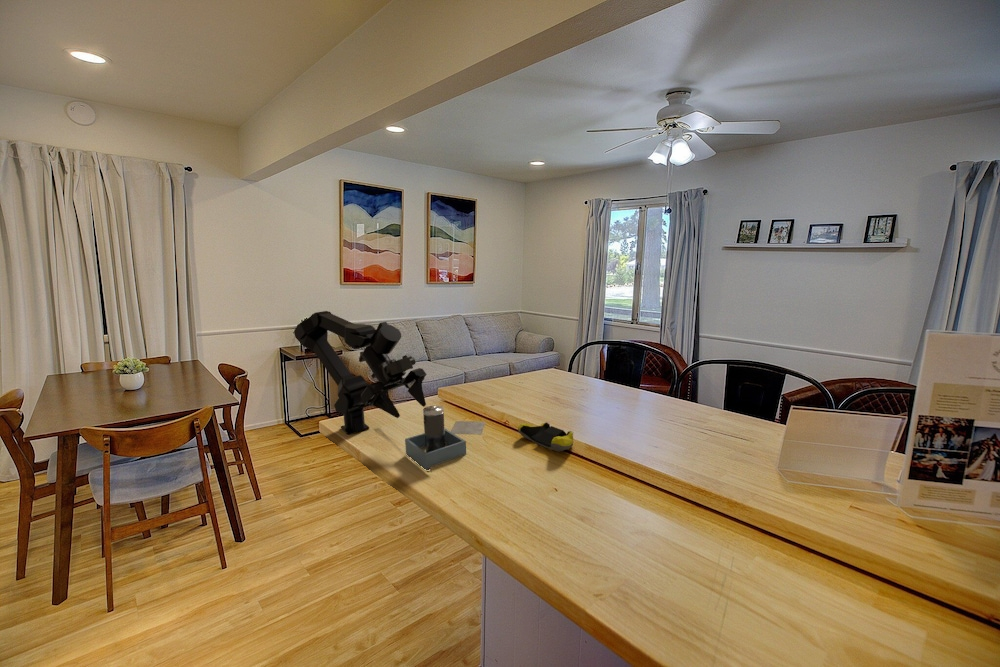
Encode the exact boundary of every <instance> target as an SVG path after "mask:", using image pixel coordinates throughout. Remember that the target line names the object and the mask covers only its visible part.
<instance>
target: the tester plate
mask: <svg viewBox="0 0 1000 667" xmlns="http://www.w3.org/2000/svg"><path fill="white" fill-rule="evenodd" d="M486 422H487V421H477V420H476V421H474V420H473V421H472V420H471V421H469V420H456V421H455V422H454V424H453V426H452V428H451V430H450V432H452V433H453V434H455V435H483V431H484V428H485V425H486Z"/></svg>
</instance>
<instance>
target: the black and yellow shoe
mask: <svg viewBox="0 0 1000 667" xmlns="http://www.w3.org/2000/svg"><path fill="white" fill-rule="evenodd" d="M550 424H551V423H550V422H543V423H542V424H540V425H533V424H528V423H519V425H518V427H517V431H518V433H519V434H520V435H521V436H522V437H523V438H525V439H527V440H529V441H530V442H532V443H534V444H536V445H537V446H538V447H539V446H540V447H544V448H546V449H548V450H550V451H551V450H553V451H555V452H558V453H560V452H563V451H567V450H569V449H571V448H572V447H573V446H574V430H569V431H567V433H566V432H565V431H564V429H560V428H558V427H556V426H552V425H550Z"/></svg>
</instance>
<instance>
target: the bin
mask: <svg viewBox="0 0 1000 667" xmlns="http://www.w3.org/2000/svg"><path fill="white" fill-rule="evenodd" d="M444 430H445V444H448V445H447V446H446V445H445V447H443V448H440V449H437V450H434V451H431V452H428V453H426V450H423V449H422V448H424V447H425V432H424V433H421V434H416V435H413V436H410V437H407V438H405V440H404V445H405V455H406V454H407V455H408V456H409V457H411V458H412V459H413V460H414V461H416V462H417V463H418V464H419V465H420V466H422V467H423V468H424V469H426V470H429V469H431V468H430V467H434V466H436V465H439V464H442V463H445V462H448V461H450V460H453V459H456V458H459V457H462V456H464V455H467V441H466V440H465V439H464V438H462V437H460V436H458V434H453V433H452V432H451V430H449V429H446V428H445V427H444ZM407 455H406V456H407ZM408 456H407V457H408ZM409 457H408V458H409ZM412 459H411V460H412ZM413 460H412V461H413ZM414 461H413V462H414ZM417 463H416V464H417ZM418 464H417V465H418ZM419 465H418V466H419ZM420 466H419V467H420ZM423 468H422V469H423ZM424 469H423V470H424Z"/></svg>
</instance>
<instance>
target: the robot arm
mask: <svg viewBox="0 0 1000 667" xmlns="http://www.w3.org/2000/svg"><path fill="white" fill-rule="evenodd" d="M328 331H329V332H331V333H333V334H335V335H337V336H339V337H341V338H342V339H343V340H344V343H345V344H346V345H347V346H349V347H350V348H351V349H352V350H358V349H362V348H364V350H363V351H360V352H359V357H358V362H359V363H362V362H365V363H366V364H367V366H368V368H369V369H370V371H371V372H372V374H371V375H370V376H371V378H372V379H376V380H377V381H376V382H373V383H370V384H369V383H368V382H367V381H366V380H365V378H364V377H363V375H361V374H360V375H357V376H356V375H353V374H352V373H351V371H350V370H349V368H348V367H347V366H346V364H345V363H344V362H343V361H342V359H341V357H339V354H338V353H337V352H336V350H334V348H333V347H332V345H331V344H330V342H329V341H328V336H329V335H328V334H329V333H328ZM293 334H294V337H295V338H296V340H297V341H298V342H299V343H300V345H302V346H303V347H304V348H307V349H309V350H311V351H313V352H314V354H315V355H316V357H317V359H318V360H319V361H320V362H321V364H322V365H323V367H324V368H325V370H326V371H327V373H328V374H329V375H330V377H331V378H332V380H333V381H334V383H335V385H336V386H337V397H338V398H337V400H336V401H335V403H334V408H335V409H334V410H335V412H336V413H339V414H342V415H343V423H344V424H343V425H341V426H340V429H341V428H342V429H343V430H344V431H345V432H346V433H345V432H344V433H345V434H347V435H351V434H350V433H352V434H354V433H353V432H356V433H358V432H357V431H359V432H362V430H363V431H366V429H367V430H369V429H370V426H369V425H368V424H366V423H365V421H366V420H365V412H364V411H365V410H364V409H365V408H367V407H375V408H377V409H380V410H381V411H384V412H385V413H387V414H389V415H391V416H393V417H394V418H396V419H399V418H400V416H401V415H400V412H399V410H398V408H397V407H396V406H395V405H394V403H393V401H392V400H391V397H390V393H389V391H392V390H395V389H398V388H401V387H403V386H404V387H405V388H406V389H408V390H407V393H409V394H410V396H412V397H413V399H414V400H415V401H416V402H417V403H418V405H421V407H423V408H425V407H426V406H427V403H426V399H425V394H424V391H423V381H424V380H425V378H426V376H427V373H426V371H425V370H424V369H423V368H421V367H418V368H416V369H414V366H415V365H416V359H415V358H414V356H413V355H412V354H411V353H408V354H405V355H403V356H402V358H400V359H397V360H396V359H395V358H394V359H391V358H390V356H389V354H390V353H392V352H393V351H394V348H395V347H396V346H397V345H398V343H399V342H400V341H401V338H402V332H401V331H400V329H398V328H397V327H395V326H394V325H391V324H388V322H387V321H383V322H382V321H381V322H379V323H378V325H377V328H375V327H374V326H373V325H371V324H370V325H369V324H364V323H353V322H351V321H349V320H346V319H345V318H342V317H341V316H340V317H339V316H338V315H336V314H334V313H332V312H331V311H328V310H323V311H316V312H314V313H312V314H311V315H310V316H309V317H307V318H306V319H305V320H304V319H303V321H301V322H300V323H298V324H297V325H296V327H295V328H294V332H293ZM408 370H410V371H409V372H408V373H407V372H406V371H408ZM405 375H406V376H405ZM403 376H405V377H403ZM343 430H342V431H343Z"/></svg>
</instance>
